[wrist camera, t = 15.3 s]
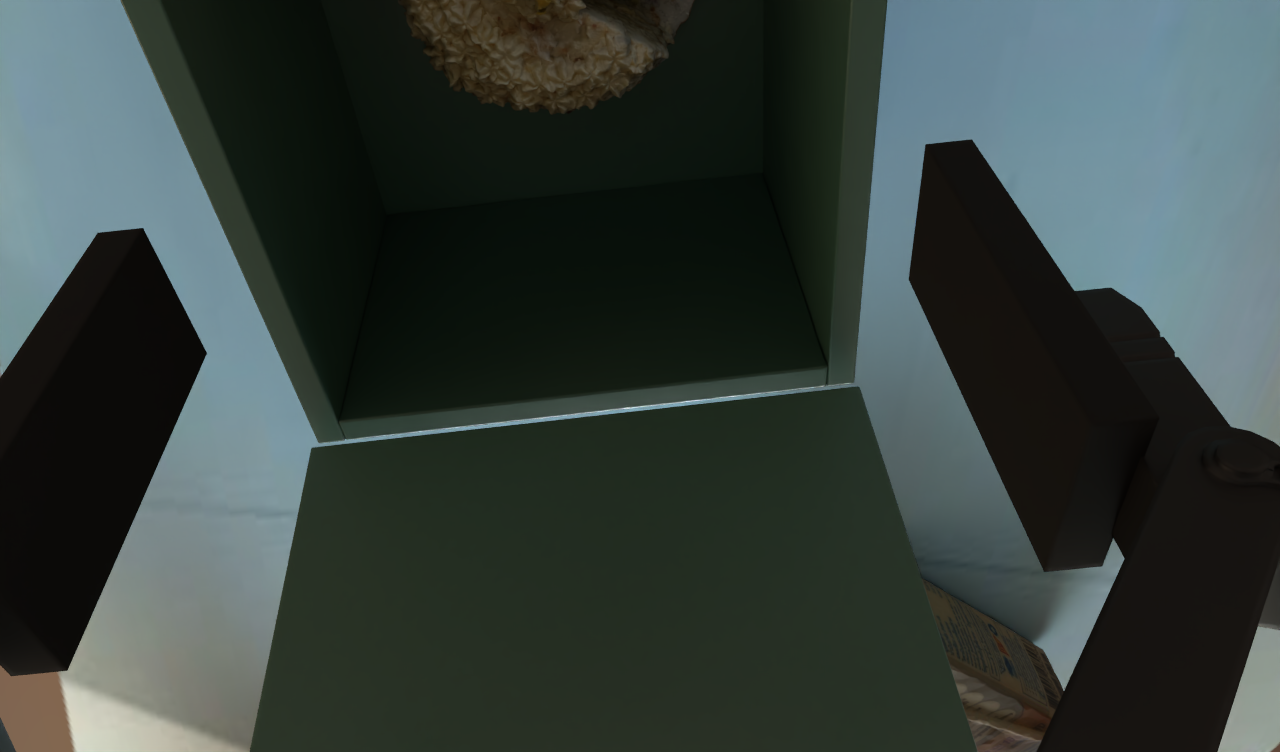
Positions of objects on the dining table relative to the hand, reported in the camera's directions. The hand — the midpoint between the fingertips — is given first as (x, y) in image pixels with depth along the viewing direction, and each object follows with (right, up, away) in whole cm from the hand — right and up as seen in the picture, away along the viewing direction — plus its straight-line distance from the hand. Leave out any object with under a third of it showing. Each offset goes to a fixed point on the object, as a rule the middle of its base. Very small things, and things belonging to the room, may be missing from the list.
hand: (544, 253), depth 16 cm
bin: (-2, +11, +14) cm, 18 cm away
